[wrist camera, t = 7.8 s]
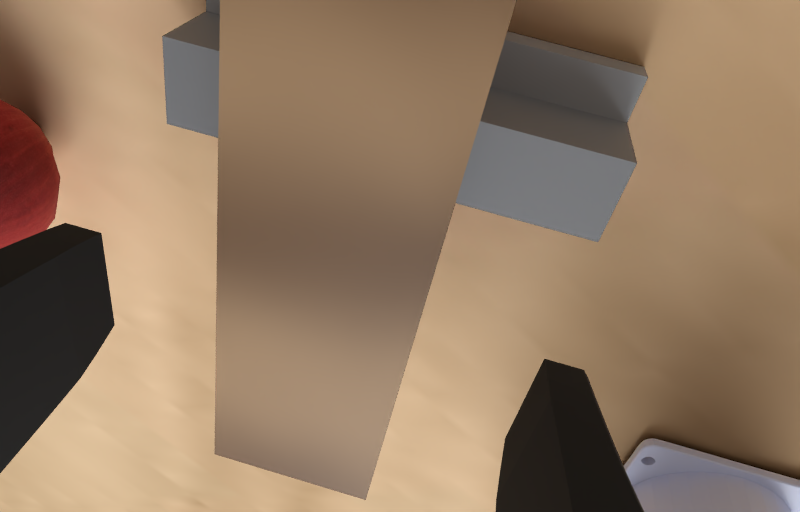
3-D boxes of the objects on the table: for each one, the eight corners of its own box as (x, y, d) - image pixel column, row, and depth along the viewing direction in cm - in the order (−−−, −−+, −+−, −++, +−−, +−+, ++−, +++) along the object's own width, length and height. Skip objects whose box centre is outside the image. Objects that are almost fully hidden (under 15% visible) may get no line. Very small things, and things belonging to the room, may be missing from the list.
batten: (407, 347, 20) (365, 499, 15) (289, 313, 20) (214, 453, 15) (560, -172, 11) (566, -166, 7) (350, -225, 11) (223, -253, 7)
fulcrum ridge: (576, 217, 19) (579, 279, 17) (218, 120, 20) (169, 165, 17) (643, 66, 16) (661, 113, 14) (219, -45, 17) (159, -19, 14)
